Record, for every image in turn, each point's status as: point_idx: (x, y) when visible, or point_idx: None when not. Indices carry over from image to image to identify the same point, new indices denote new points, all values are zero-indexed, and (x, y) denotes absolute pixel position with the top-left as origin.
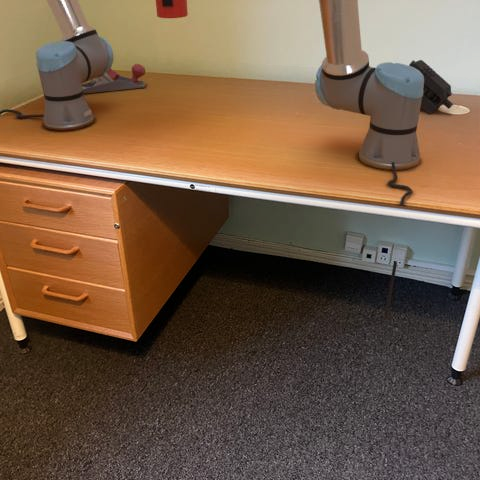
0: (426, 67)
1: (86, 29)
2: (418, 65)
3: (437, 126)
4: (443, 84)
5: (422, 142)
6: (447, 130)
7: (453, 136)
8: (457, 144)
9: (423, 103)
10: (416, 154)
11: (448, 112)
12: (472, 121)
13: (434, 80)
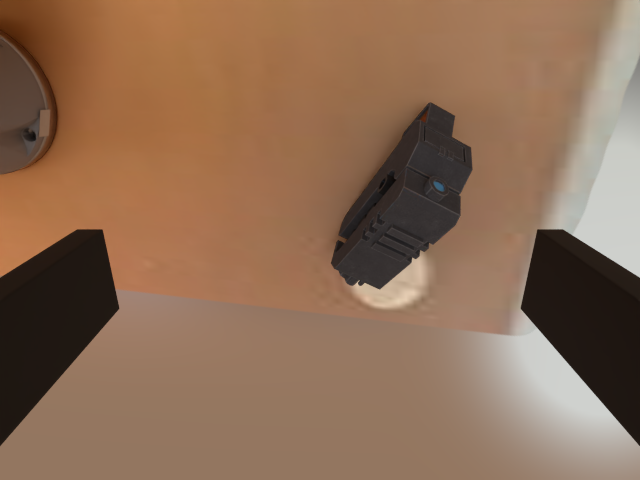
0: (400, 235)
1: None
2: (397, 209)
3: (250, 228)
4: (362, 271)
5: (126, 186)
6: (227, 247)
7: (189, 256)
8: (141, 259)
9: (356, 205)
10: None
11: None
12: (304, 305)
13: (354, 249)
